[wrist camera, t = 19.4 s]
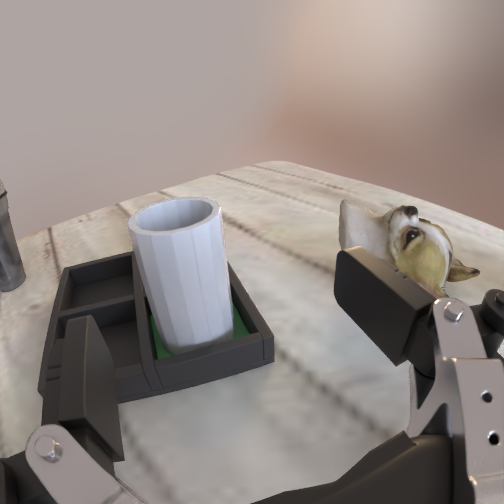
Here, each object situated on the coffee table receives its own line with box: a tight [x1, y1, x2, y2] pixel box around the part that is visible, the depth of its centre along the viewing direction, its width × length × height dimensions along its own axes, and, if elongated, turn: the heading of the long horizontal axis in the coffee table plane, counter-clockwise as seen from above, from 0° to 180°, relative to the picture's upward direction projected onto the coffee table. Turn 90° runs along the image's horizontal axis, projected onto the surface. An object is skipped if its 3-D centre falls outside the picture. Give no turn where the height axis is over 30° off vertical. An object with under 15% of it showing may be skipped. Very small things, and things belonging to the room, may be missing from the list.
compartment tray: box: [38, 251, 274, 404], centre depth 26 cm, size 17×17×3 cm
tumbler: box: [128, 197, 235, 356], centre depth 21 cm, size 6×6×10 cm
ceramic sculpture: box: [339, 200, 480, 300], centre depth 26 cm, size 11×9×15 cm
